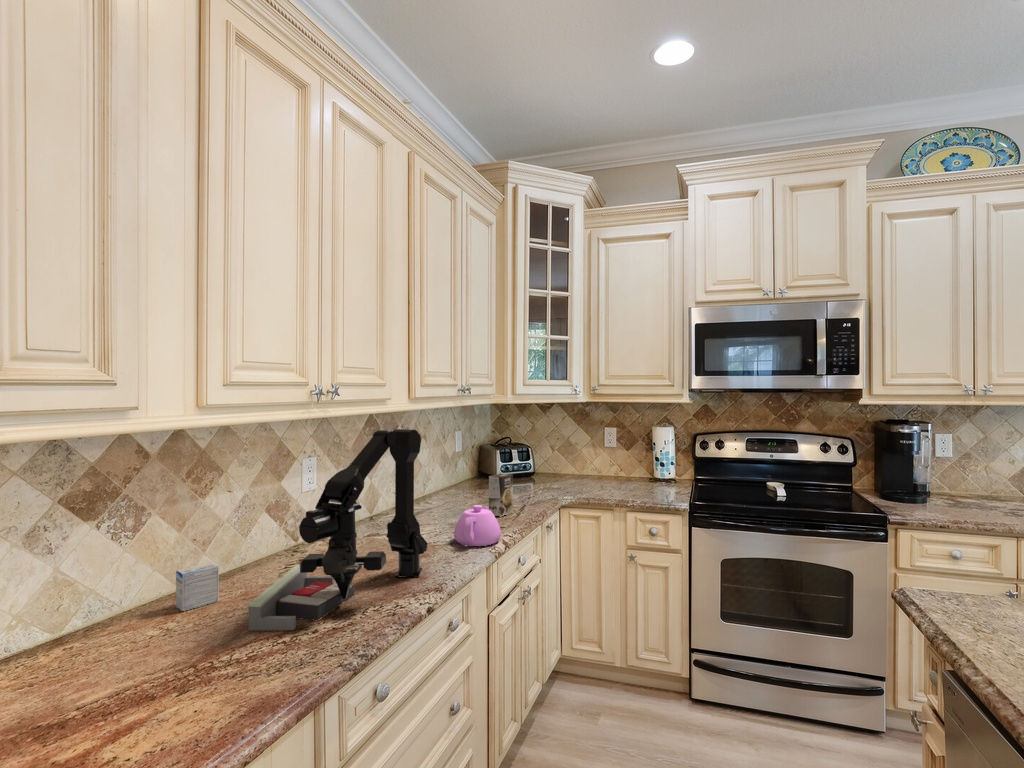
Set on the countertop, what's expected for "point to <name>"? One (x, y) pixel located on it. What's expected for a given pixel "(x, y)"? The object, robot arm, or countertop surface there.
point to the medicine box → (197, 586)
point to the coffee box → (501, 494)
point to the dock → (265, 603)
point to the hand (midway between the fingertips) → (344, 598)
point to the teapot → (477, 527)
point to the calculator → (312, 601)
